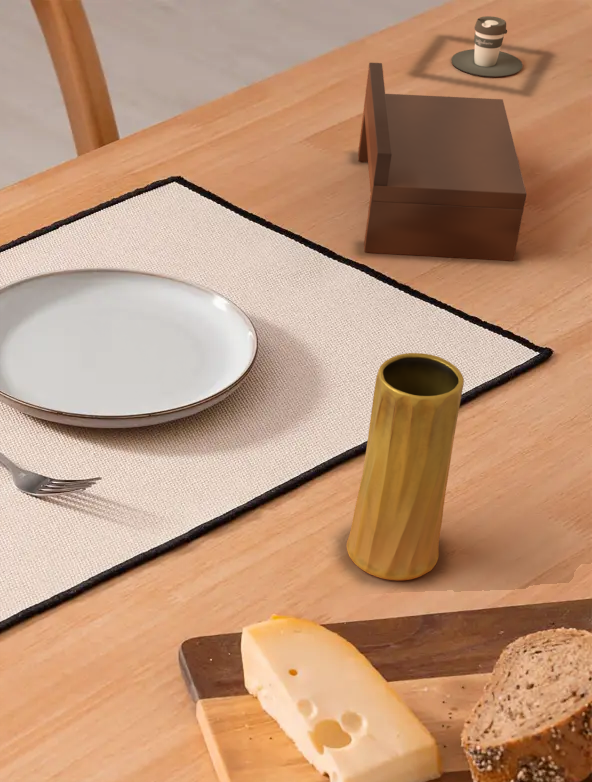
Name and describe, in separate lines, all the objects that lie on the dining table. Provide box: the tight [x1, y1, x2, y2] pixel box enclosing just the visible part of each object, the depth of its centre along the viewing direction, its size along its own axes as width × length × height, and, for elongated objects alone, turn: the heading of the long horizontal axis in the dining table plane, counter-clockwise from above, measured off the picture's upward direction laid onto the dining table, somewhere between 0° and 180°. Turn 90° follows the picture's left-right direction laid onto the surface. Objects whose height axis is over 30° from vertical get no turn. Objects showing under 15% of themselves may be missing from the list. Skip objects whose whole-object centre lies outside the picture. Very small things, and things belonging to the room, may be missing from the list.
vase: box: [346, 352, 465, 581], centre depth 100 cm, size 6×6×14 cm
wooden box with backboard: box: [357, 62, 527, 262], centre depth 142 cm, size 13×20×10 cm, turn 174°
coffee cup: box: [450, 15, 524, 78], centre depth 170 cm, size 12×12×5 cm
